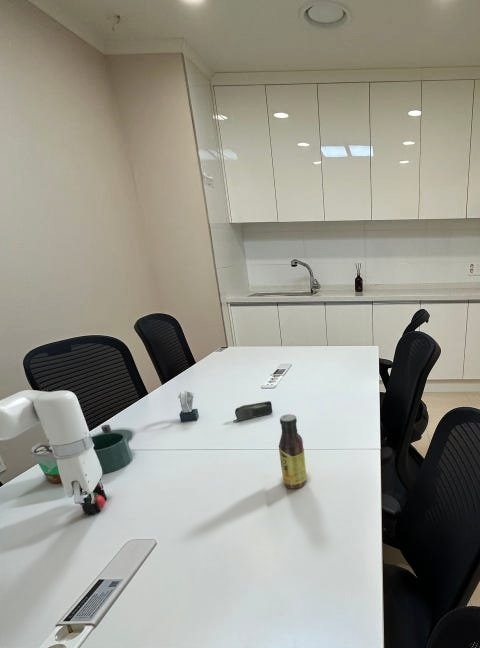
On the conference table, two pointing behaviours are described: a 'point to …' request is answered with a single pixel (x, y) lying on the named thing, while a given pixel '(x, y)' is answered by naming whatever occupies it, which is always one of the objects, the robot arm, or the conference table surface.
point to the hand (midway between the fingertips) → (97, 509)
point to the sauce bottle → (291, 453)
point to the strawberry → (99, 499)
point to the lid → (108, 430)
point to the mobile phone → (253, 410)
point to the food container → (46, 462)
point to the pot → (112, 451)
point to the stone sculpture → (187, 407)
